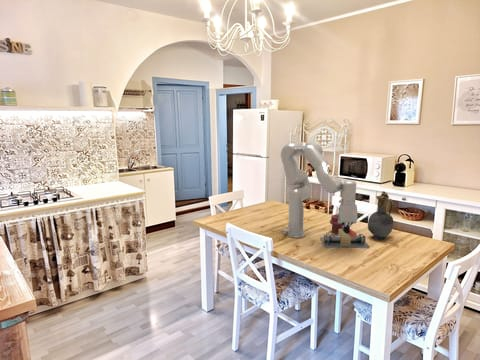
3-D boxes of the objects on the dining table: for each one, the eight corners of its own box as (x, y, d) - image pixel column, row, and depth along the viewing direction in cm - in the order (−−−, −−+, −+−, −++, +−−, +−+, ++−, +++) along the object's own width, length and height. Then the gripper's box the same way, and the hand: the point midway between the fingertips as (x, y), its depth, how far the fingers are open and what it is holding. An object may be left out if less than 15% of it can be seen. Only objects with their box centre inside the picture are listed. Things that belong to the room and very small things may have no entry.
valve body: (324, 247, 190) (325, 234, 188) (320, 238, 204) (320, 226, 202) (369, 248, 188) (370, 235, 187) (362, 239, 202) (363, 227, 200)
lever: (341, 229, 196) (341, 225, 195) (346, 229, 196) (346, 224, 195) (351, 237, 182) (351, 233, 181) (356, 237, 182) (356, 233, 182)
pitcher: (364, 237, 204) (367, 192, 199) (381, 231, 215) (385, 188, 209) (380, 243, 195) (384, 195, 190) (397, 236, 206) (401, 191, 200)
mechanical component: (344, 230, 217) (345, 235, 208) (328, 229, 219) (329, 234, 210) (345, 213, 215) (346, 217, 205) (329, 212, 217) (330, 216, 207)
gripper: (337, 204, 178) (335, 235, 182) (363, 203, 179) (361, 234, 183) (333, 200, 186) (331, 230, 189) (358, 200, 187) (356, 230, 190)
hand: (346, 232), depth 186 cm, fingers closed
